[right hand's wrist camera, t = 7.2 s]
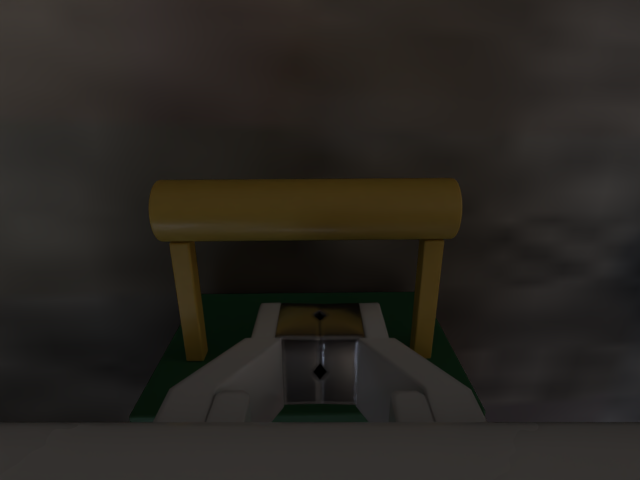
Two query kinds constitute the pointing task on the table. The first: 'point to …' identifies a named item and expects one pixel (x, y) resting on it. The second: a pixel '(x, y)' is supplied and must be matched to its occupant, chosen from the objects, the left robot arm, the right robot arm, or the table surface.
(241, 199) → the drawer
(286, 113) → the table surface
